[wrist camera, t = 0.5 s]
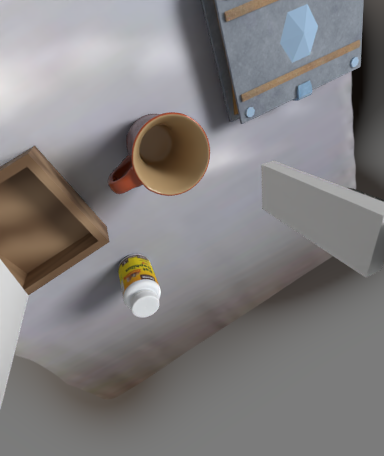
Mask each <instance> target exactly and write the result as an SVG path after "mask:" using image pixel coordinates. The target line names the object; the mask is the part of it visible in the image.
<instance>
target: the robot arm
mask: <svg viewBox="0 0 384 456" xmlns="http://www.w3.org/2000/svg"><path fill="white" fill-rule="evenodd" d="M261 166H262V209H263V210H265V211H266V212H268V213H269V214H271V215H272V216H274V217H275V218H277V219H278V220H280V221H281V222H283V223H284V224H286V225H287V226H289V227H290V228H292V229H293V230H295V231H296V232H298V233H299V234H301V235H302V236H304V237H305V238H307V239H308V240H310V241H311V242H313V243H314V244H316V245H317V246H319V247H320V248H322V249H324V250H325V251H327V252H328V253H330V254H331V255H333V256H334V257H336V258H337V259H339V260H340V261H342V262H343V263H345V264H346V265H348V266H349V267H351V268H352V269H354V270H355V271H357V272H358V273H360V274H361V275H363V276H364V277H368V276H370V275H372V274H374V273H376V272H378V271H380V270H381V269H382V266H383V262H384V200H382V199H379V198H377V197H376V198H374V197H373V196H371V195H368V194H364V193H363V192H360V191H358V190H355V189H352V188H346V187H343V186H340V185H337V184H335V183H332V182H329V181H327V180H324V179H321V178H319V177H316V176H313V175H311V174H308V173H305V172H303V171H300V170H297V169H295V168H292V167H289V166H287V165H284V164H281V163H279V162H276V161H271V162H268V163H265V164H261ZM28 297H29V296H28V294H27V293H26V292H25V290H24V289H23V288H22V286H21V285H20V284H19V283H18V281H17V280H16V279H15V277H14V276H13V275H12V273H11V272H10V271H9V270H8V268H7V267H6V266H5V264H4V263H3V262H2V260H1V259H0V409H1V405H2V401H3V397H4V393H5V389H6V385H7V381H8V377H9V373H10V369H11V365H12V361H13V357H14V353H15V349H16V345H17V341H18V337H19V333H20V329H21V325H22V321H23V317H24V313H25V309H26V305H27V301H28Z"/></svg>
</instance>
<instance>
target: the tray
mask: <svg viewBox="0 0 384 456" xmlns="http://www.w3.org/2000/svg"><path fill="white" fill-rule="evenodd" d="M108 242H109V237H108V232H107V226H106V225H105V224H104V223H103V222H102V221H101V220H100V219H99V217H98V216H97V215H96V214H95V213H94V212H93V211H92V210H91V208H90V207H89V206H88V205H87V204H86V203H85V202H84V201H83V199H82V198H81V197H80V196H79V195H78V194H77V193H76V192H75V190H74V189H73V188H72V187H71V186H70V185H69V184H68V182H67V181H66V180H65V179H64V178H63V177H62V176H61V175H60V173H59V172H58V171H57V170H56V169H55V168H54V167H53V166H52V164H51V163H50V162H49V161H48V160H47V159H46V158H45V157H44V155H43V154H42V153H41V152H40V151H39V150H38V149H37V148H36V146H34V147H32V148H30V149H29V150H27V151H25V152H24V153H22V154H21V155H19V156H17V157H16V158H14V159H13V160H11V161H9V162H8V163H6V164H5V165H3V166H1V167H0V259H1V260H2V262H3V263H4V264H5V266H6V267H7V268H8V270H9V271H10V272H11V273H12V275H13V276H14V277H15V279H16V280H17V281H18V283H19V284H20V285H21V286H22V288H23V289H24V290H25V292H26V293H27V294H28V295H30V294H31V293H33V292H34V291H36V290H37V289H39V288H40V287H42V286H43V285H45V284H46V283H48V282H49V281H51V280H52V279H54V278H55V277H57V276H58V275H60V274H61V273H63V272H64V271H66V270H67V269H69V268H70V267H72V266H74V265H75V264H77V263H78V262H80V261H81V260H83V259H84V258H86V257H87V256H89V255H90V254H92V253H93V252H95V251H96V250H98V249H99V248H101V247H102V246H104V245H105V244H107V243H108Z"/></svg>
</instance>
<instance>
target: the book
mask: <svg viewBox="0 0 384 456" xmlns="http://www.w3.org/2000/svg"><path fill="white" fill-rule="evenodd" d="M201 3H202V7H203V11H204V15H205V20H206V24H207V28H208V32H209V36H210V41H211V45H212V49H213V53H214V57H215V61H216V66H217V70H218V74H219V78H220V82H221V87H222V91H223V95H224V99H225V103H226V108H227V112H228V116H229V120H230V122H232V121H234V120H236V119H238V118H240V122H241V124H243V123H245V122H247V121H249V120H251V119H254V118H256V117H258V116H260V115H262V114H264V113H266V112H268V111H270V110H272V109H274V108H276V107H278V106H280V105H282V104H285V103H287V102H289V101H291V100H300V99H302V98H304V97H307V96H309V95H311V94H312V90H313V89H316V88H318V87H320V86H322V85H324V84H326V83H328V82H330V81H332V80H334V79H336V78H338V77H340V76H342V75H344V74H347V73H349V72H351V71H352V70H355V69H357V68H359V67H360V64H361V42H362V21H363V0H201Z"/></svg>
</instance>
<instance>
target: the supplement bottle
mask: <svg viewBox="0 0 384 456" xmlns="http://www.w3.org/2000/svg"><path fill="white" fill-rule="evenodd" d="M118 273H119V278H120V284H121V289H122V295H123V300H124V303H125V305H126V306H127V307H128V308H130V309H131V310H132V313H133V314H134V315H135V316H137V317H148V316H150V315H152V314H154V313H155V312H156V311H157V310H158V308H159V298H160V294H161V290H160V287H159V284H158V282H157V279H156V276H155V274H154V271H153V269H152V266H151V263H150V261H149V260H148V258H147V257H145V256H144V255H141V254H132V255H129V256H127V257H125V258H124V259H123V260H122V261H121V262H120V264H119V267H118Z"/></svg>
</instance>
